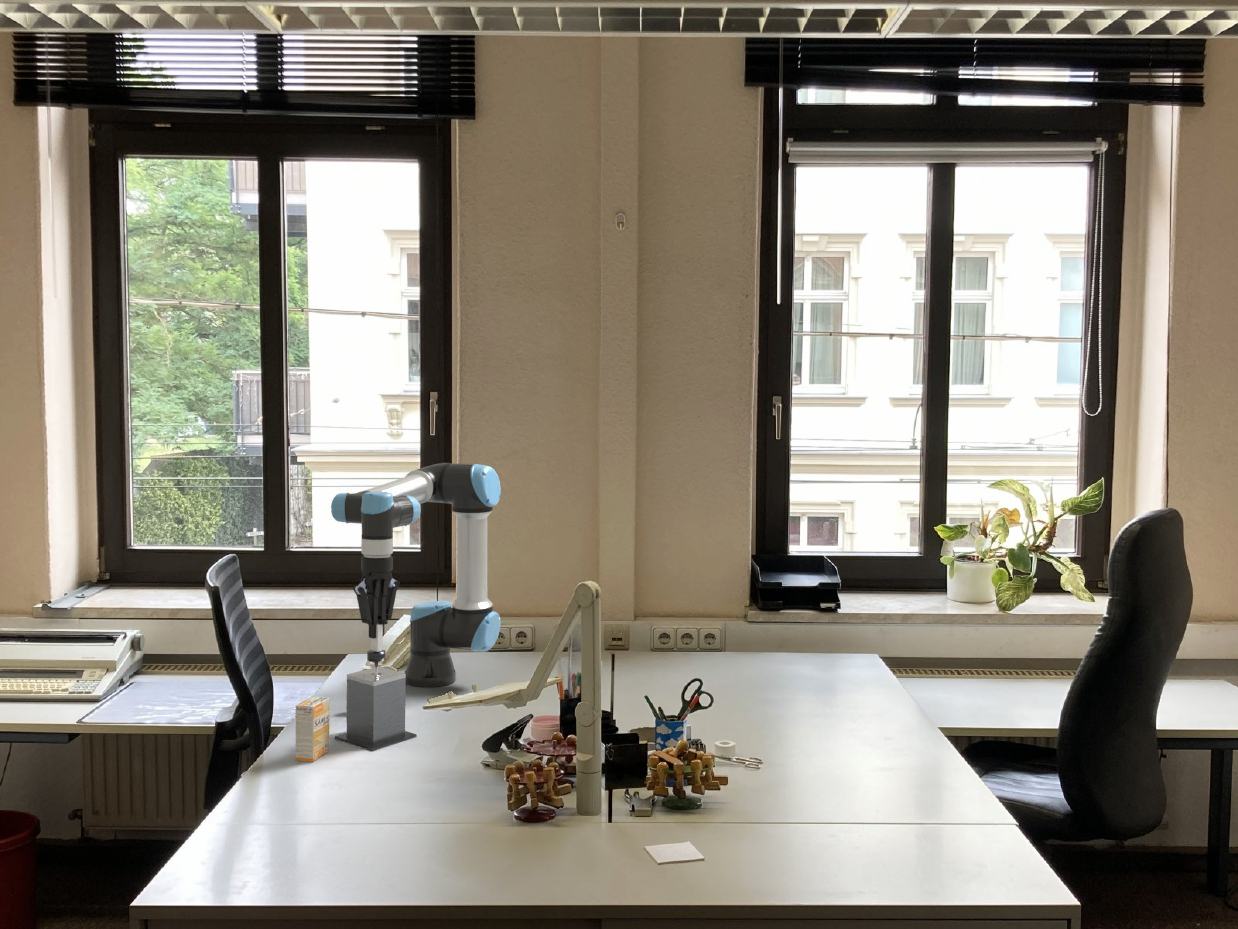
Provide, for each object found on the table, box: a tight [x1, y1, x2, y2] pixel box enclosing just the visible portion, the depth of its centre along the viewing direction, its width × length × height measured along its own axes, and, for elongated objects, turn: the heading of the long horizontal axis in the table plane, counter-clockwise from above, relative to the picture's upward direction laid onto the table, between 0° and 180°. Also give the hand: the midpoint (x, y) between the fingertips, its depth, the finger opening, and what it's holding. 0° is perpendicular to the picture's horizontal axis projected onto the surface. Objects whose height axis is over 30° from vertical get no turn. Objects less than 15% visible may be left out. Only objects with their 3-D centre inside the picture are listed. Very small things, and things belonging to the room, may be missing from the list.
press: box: [334, 666, 417, 752], centre depth 265 cm, size 14×15×16 cm
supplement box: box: [294, 696, 331, 763], centre depth 251 cm, size 8×5×13 cm, turn 168°
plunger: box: [366, 649, 387, 675], centre depth 264 cm, size 7×7×15 cm
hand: (376, 650), depth 263 cm, fingers closed
